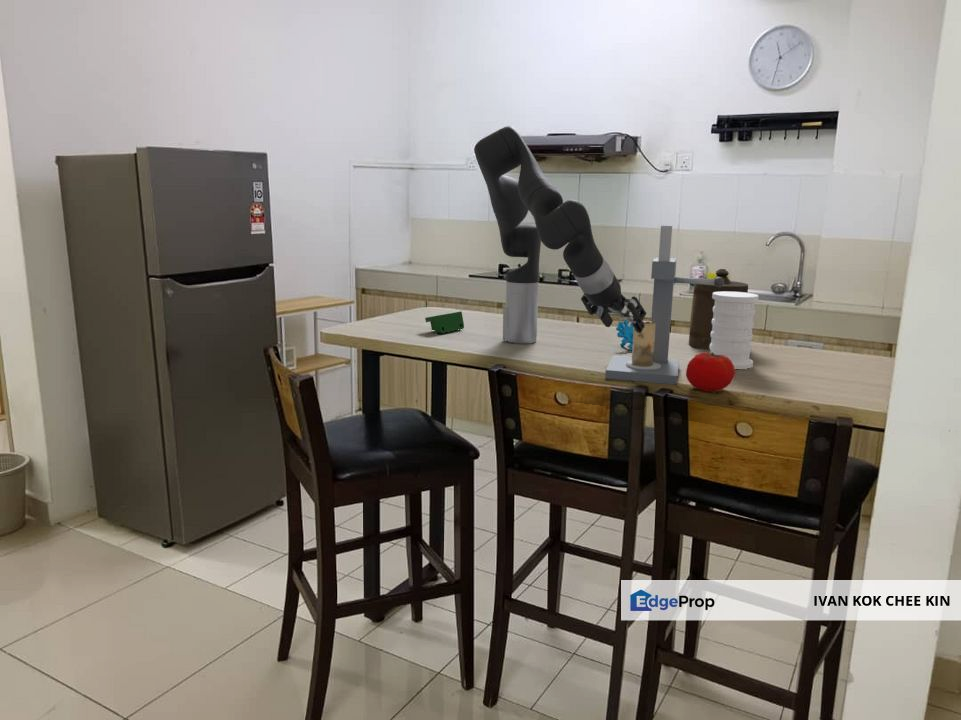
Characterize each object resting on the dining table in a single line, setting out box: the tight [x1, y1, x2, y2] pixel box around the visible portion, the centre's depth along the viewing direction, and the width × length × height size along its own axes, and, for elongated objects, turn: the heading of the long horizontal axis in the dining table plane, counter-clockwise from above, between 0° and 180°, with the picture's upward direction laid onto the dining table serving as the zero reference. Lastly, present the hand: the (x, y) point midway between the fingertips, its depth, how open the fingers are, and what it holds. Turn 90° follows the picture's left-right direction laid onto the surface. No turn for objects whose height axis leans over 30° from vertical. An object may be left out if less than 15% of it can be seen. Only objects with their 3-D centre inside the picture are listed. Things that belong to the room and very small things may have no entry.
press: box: [604, 224, 724, 385], centre depth 169 cm, size 25×17×35 cm
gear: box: [615, 319, 634, 350], centre depth 203 cm, size 11×6×10 cm
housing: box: [631, 320, 656, 367], centre depth 171 cm, size 5×5×10 cm
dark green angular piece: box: [424, 310, 465, 334], centre depth 223 cm, size 12×6×9 cm, turn 136°
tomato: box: [685, 351, 736, 393], centre depth 159 cm, size 9×10×8 cm
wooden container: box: [688, 268, 749, 351], centre depth 206 cm, size 15×15×22 cm
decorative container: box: [709, 291, 759, 370], centre depth 183 cm, size 12×12×18 cm
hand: (625, 327), depth 165 cm, fingers open, 8 cm apart
